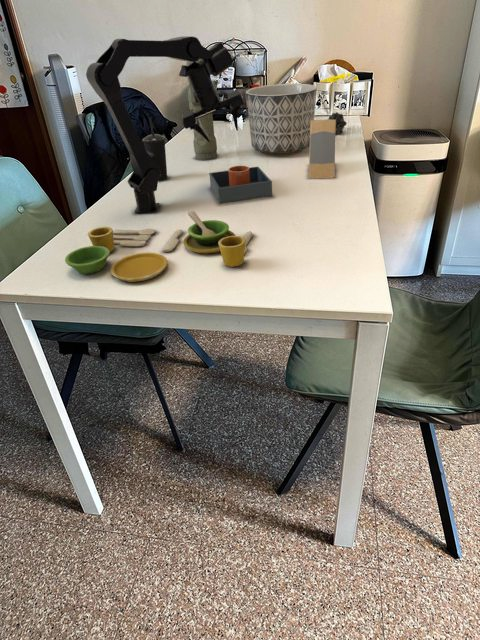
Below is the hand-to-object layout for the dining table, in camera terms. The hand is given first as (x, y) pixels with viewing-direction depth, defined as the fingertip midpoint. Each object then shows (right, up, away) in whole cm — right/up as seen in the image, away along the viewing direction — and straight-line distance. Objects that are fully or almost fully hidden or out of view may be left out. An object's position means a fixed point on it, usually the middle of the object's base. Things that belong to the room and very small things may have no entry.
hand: (223, 135), depth 137 cm
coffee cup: (+5, -16, +3) cm, 17 cm away
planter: (+22, +11, +41) cm, 47 cm away
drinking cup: (-23, -7, +21) cm, 32 cm away
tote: (+5, -17, +3) cm, 18 cm away
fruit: (+47, +26, +59) cm, 80 cm away
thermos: (-8, +8, +40) cm, 41 cm away
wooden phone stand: (+33, -6, +16) cm, 37 cm away
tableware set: (-13, -41, -30) cm, 52 cm away
